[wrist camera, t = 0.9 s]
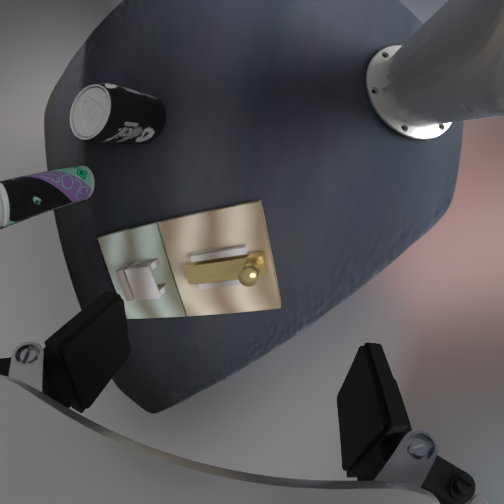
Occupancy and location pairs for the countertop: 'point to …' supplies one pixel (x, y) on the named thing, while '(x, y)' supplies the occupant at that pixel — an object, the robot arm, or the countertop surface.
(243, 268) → the bolt
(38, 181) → the spray can
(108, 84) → the beverage can
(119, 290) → the latch board
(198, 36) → the countertop surface
